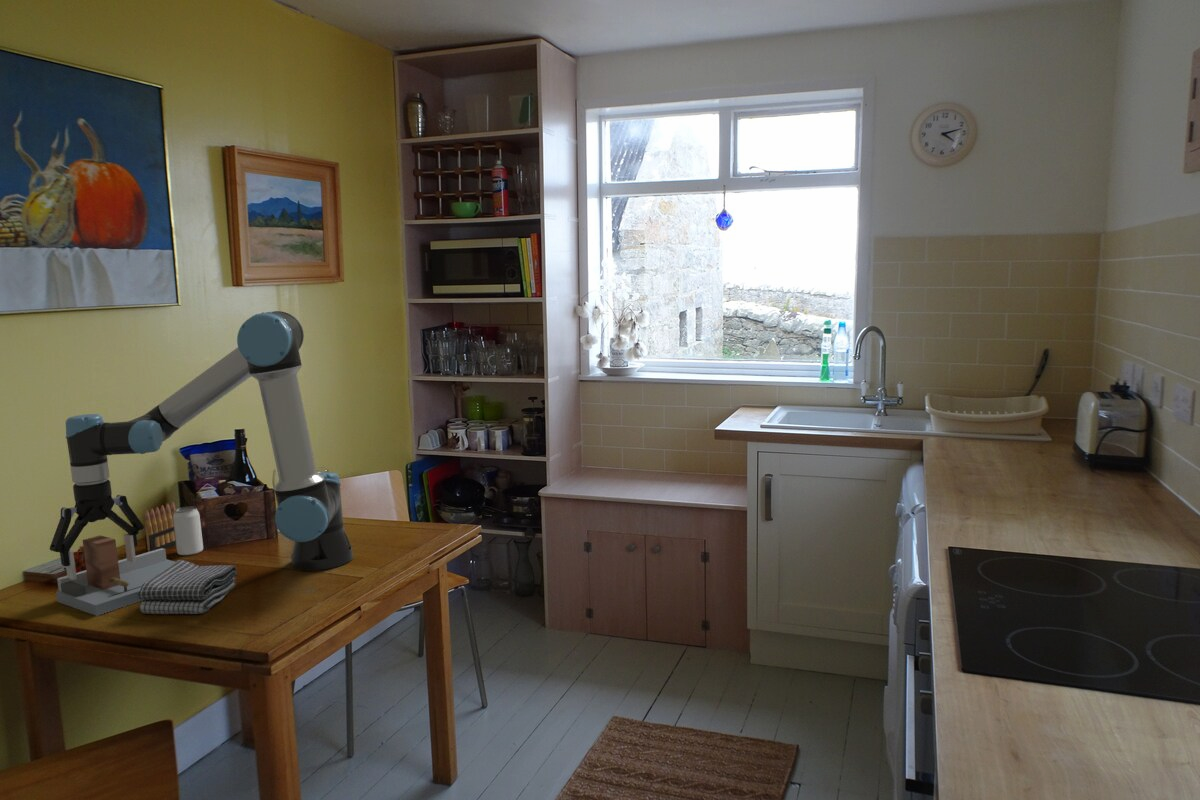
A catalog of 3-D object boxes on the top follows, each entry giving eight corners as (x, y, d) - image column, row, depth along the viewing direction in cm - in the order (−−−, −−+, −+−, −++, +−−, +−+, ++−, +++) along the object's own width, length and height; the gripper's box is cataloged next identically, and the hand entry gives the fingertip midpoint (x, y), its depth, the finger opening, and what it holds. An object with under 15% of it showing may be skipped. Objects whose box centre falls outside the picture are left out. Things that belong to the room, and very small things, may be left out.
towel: (137, 619, 190) (133, 584, 188) (180, 588, 208) (176, 557, 207) (206, 617, 189) (202, 582, 188) (242, 586, 207) (239, 555, 206)
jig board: (206, 579, 213) (203, 557, 212) (97, 616, 191) (93, 592, 191) (165, 568, 223) (163, 547, 222) (57, 601, 201) (54, 579, 200)
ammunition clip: (151, 553, 235) (146, 511, 234) (146, 553, 236) (141, 510, 234) (182, 542, 245) (177, 500, 244) (177, 541, 246) (172, 500, 244)
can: (207, 551, 236) (202, 508, 234) (183, 557, 231) (178, 513, 229) (197, 546, 240) (192, 504, 238) (173, 552, 235) (168, 510, 234)
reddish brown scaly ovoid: (111, 583, 218) (69, 589, 220) (124, 555, 224) (83, 561, 226) (89, 563, 212) (47, 570, 214) (104, 535, 218) (62, 542, 220)
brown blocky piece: (135, 589, 200) (130, 543, 199) (118, 594, 197) (112, 548, 196) (105, 579, 208) (100, 535, 206) (88, 584, 205) (82, 539, 203)
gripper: (136, 468, 213) (146, 552, 216) (24, 491, 192) (37, 583, 196) (152, 471, 209) (162, 556, 212) (40, 495, 188) (53, 589, 191)
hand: (102, 569), depth 204 cm, fingers open, 13 cm apart
